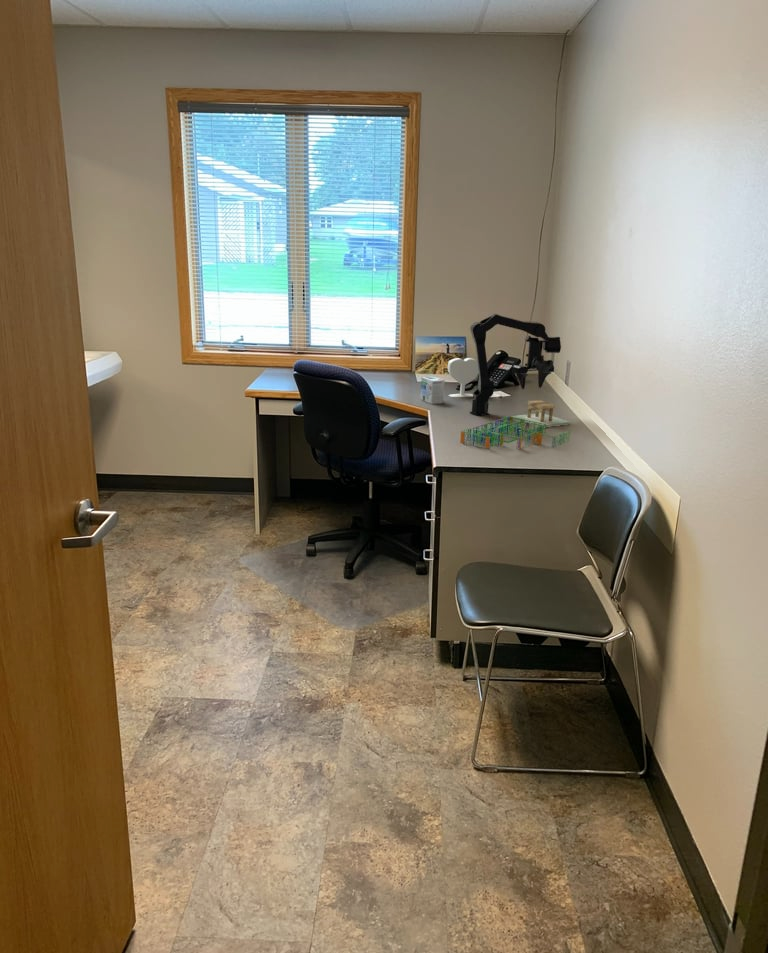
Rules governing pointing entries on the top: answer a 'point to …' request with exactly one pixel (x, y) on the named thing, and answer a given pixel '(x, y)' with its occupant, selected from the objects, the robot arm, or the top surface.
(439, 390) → the light bulb box
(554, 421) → the sage board
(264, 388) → the top surface
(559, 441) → the house model
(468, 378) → the heart sculpture
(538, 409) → the maple stool
